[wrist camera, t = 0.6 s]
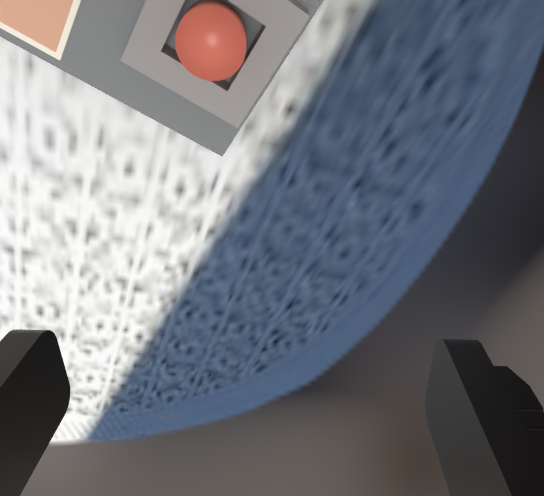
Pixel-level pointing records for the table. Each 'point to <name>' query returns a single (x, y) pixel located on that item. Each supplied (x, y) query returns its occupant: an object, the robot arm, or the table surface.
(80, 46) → the board
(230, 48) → the button
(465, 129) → the table surface
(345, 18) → the table surface
